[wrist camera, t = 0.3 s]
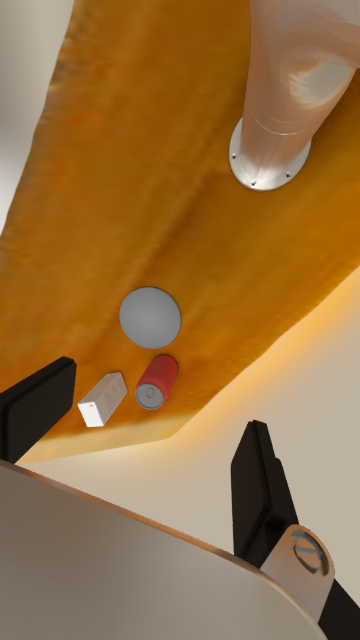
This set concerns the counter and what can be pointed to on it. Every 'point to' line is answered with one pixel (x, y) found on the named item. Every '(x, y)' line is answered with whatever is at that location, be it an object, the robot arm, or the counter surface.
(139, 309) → the slate mat
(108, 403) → the skincare box
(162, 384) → the beer can
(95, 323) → the counter surface
